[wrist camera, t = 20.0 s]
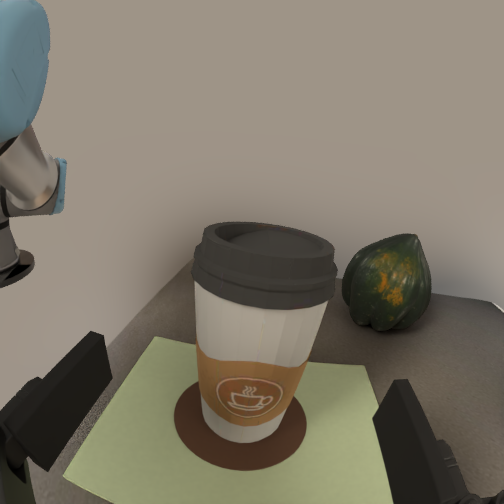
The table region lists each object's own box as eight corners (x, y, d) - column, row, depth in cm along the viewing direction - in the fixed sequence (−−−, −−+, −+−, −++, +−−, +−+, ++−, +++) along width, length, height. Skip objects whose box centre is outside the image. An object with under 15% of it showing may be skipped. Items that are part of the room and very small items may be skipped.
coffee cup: (181, 447, 16) (173, 247, 11) (199, 376, 24) (208, 215, 19) (295, 458, 16) (366, 271, 11) (288, 386, 24) (324, 230, 19)
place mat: (64, 478, 10) (61, 474, 10) (155, 339, 29) (155, 334, 29) (407, 523, 9) (412, 520, 8) (362, 368, 28) (364, 363, 28)
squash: (310, 279, 38) (399, 217, 30) (344, 262, 50) (409, 217, 41) (358, 363, 35) (453, 316, 26) (381, 326, 46) (449, 287, 38)
